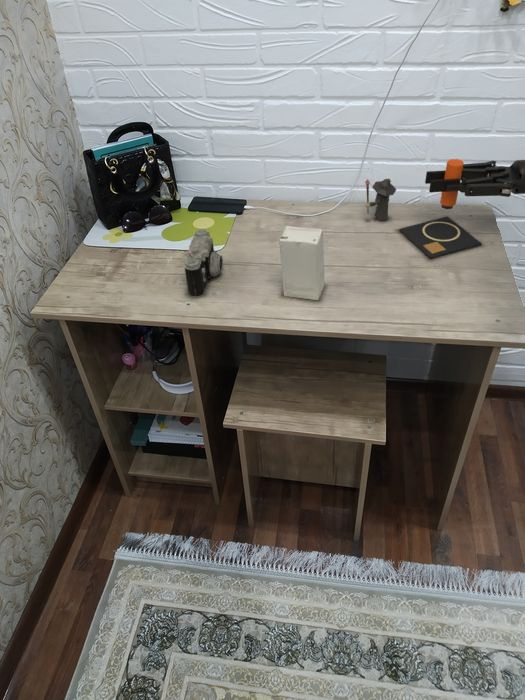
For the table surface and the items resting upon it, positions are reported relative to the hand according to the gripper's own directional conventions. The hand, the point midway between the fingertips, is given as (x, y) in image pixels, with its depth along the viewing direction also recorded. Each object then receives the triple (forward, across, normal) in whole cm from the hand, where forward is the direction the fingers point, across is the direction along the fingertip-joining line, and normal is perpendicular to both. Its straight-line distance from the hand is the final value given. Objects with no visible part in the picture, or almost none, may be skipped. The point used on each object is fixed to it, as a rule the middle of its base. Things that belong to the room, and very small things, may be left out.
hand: (428, 181), depth 131 cm
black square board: (-4, -1, -14) cm, 15 cm away
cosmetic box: (+30, -20, -14) cm, 39 cm away
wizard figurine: (+9, +9, -14) cm, 19 cm away
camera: (+52, -14, -14) cm, 56 cm away
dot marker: (-5, 0, -7) cm, 9 cm away
